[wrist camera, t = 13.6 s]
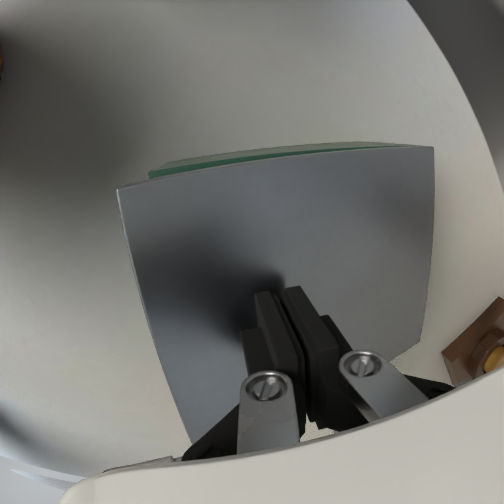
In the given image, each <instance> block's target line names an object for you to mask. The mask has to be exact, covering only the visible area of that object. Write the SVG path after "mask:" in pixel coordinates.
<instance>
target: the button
mask: <svg viewBox="0 0 504 504" xmlns="http://www.w3.org/2000/svg"><path fill="white" fill-rule="evenodd" d="M502 365H504V347H503V346H499V347H497V348H496V349H495V350H494V351H493V352H492V353H491V355H490V356H489V358H488V359H487V361H486V363H485V365H484V368H483V369H484V371H485V372H486V373H488V372H490V371H492V370H494V369H496V368H498V367H500V366H502Z"/></svg>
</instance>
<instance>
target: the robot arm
mask: <svg viewBox="0 0 504 504" xmlns="http://www.w3.org/2000/svg"><path fill="white" fill-rule="evenodd" d="M254 295H255V304H256V312H257V320H258V328H254V329H248V330H243V331H240V333H241V340H242V346H243V352H244V357H245V363H246V368H247V373H248V377H247V378H246V379H245V380H244V381H243V382H242V384H241V388H240V401H239V404H238V405H236V406H235V407H234V408H233V409H232V410H231V411H230V412H229V413H228V414H227V415H226V416H225V417H224V418H222V419H221V420H220V421H219V422H218V423H217V424H216V425H215V426H214V427H213V428H211V429H210V430H209V431H208V432H207V433H206V434H205V435H204V436H202V437H201V438H200V439H199V440H198V441H197V442H196V443H194V444H193V445H192V446H191V447H190V448H189V449H188V450H187V451H186V452H185V453H184V455H183V456H182V457H178V458H175V459H173V457H172V456H168V457H164V458H159V459H155V460H151V461H146V462H142V463H137V464H132V465H126V466H121V467H115V468H111V469H108V470H105V471H104V472H102V473H100V474H97V475H94V476H91V477H88V478H86V479H83V480H82V481H79V482H77V483H75V484H74V485H73V486H71V487H70V488H69V489H68V490H67V491H66V492H65V493H64V494H63V496H62V498H61V499H60V501H59V503H58V504H504V365H502V366H500V367H498V368H496V369H494V370H492V371H490V372H488V373H486V374H484V375H482V376H480V377H478V378H475V379H471V380H467V381H463V382H459V383H455V385H454V387H452V386H451V385H448V384H445V383H441V382H436V381H431V380H427V379H422V378H417V377H413V376H408V375H404V374H402V373H400V372H399V371H398V370H397V369H396V368H395V367H394V366H393V365H392V364H391V363H390V362H389V361H387V360H386V359H385V358H384V357H383V356H382V355H380V354H379V353H377V352H375V351H372V350H366V349H360V350H354V351H353V349H352V348H351V346H350V345H349V343H348V342H347V340H346V339H345V337H344V336H343V335H342V333H341V332H340V330H339V329H338V327H337V326H336V324H335V323H334V322H333V320H332V319H331V317H330V316H329V315H322V316H320V315H319V314H318V312H317V311H316V309H315V308H314V306H313V305H312V303H311V301H310V300H309V298H308V297H307V295H306V294H305V292H304V291H303V289H302V288H301V286H300V285H299V286H294V287H288V288H285V291H284V292H282V293H280V301H279V299H278V297H277V295H276V294H271V293H270V291H265V292H259V293H255V294H254ZM306 413H307V416H308V419H309V421H310V422H316V424H317V427H318V429H319V430H320V429H324V428H329V429H332V430H334V434H331V435H328V436H324V437H320V438H316V439H312V440H308V441H304V442H300V438H301V437H302V435H303V434H304V433H305V424H306Z"/></svg>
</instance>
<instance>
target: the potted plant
mask: <svg viewBox="0 0 504 504" xmlns="http://www.w3.org/2000/svg"><path fill="white" fill-rule="evenodd" d="M2 65H3V62H2V56H1V49H0V80H1V72H2Z"/></svg>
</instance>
